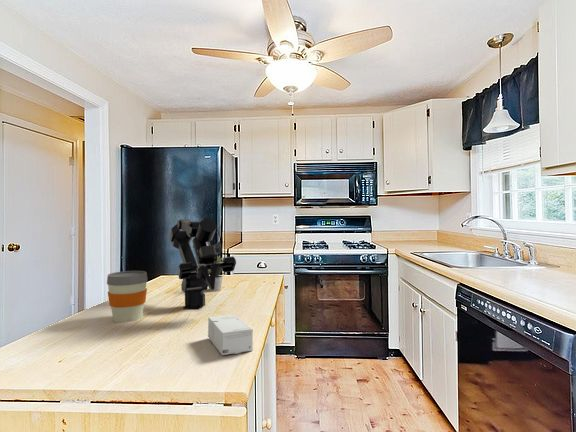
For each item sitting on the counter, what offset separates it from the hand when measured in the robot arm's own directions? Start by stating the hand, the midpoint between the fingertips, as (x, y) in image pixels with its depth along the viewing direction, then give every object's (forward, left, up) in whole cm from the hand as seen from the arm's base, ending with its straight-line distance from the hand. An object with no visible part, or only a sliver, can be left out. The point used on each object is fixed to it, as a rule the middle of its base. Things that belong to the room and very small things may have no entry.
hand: (212, 289), depth 114 cm
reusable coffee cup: (-30, +1, -11) cm, 32 cm away
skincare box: (+6, -12, -8) cm, 16 cm away
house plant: (-14, +45, -11) cm, 49 cm away
